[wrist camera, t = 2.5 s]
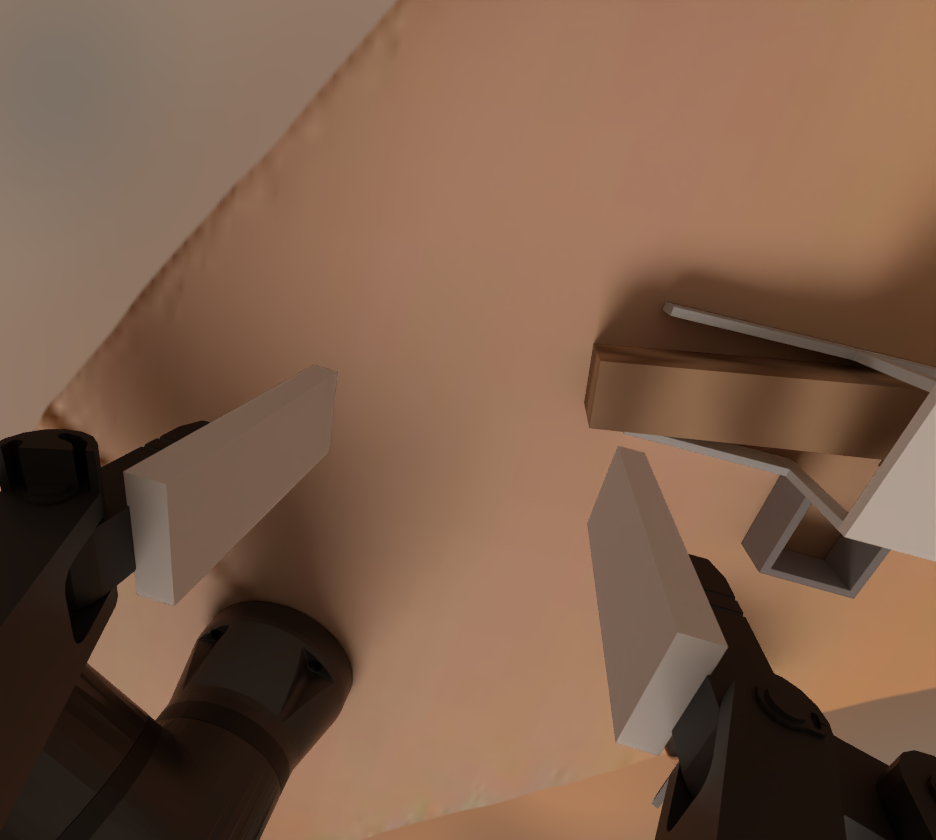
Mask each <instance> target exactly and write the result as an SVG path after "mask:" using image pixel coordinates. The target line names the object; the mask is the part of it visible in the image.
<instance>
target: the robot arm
mask: <svg viewBox="0 0 936 840" xmlns="http://www.w3.org/2000/svg"><path fill="white" fill-rule="evenodd" d="M337 372H338V371H334V370H331V369H327V368H323V367H319V366H315V365H312V366H310V367H309V368H307V369H305V370H303V371H301V372H300V373H298V374H296V375H294V376H293V377H291V378H289V379H287V380H285V381H284V382H282V383H280V384H278V385H277V386H275V387H273V388H271V389H269V390H268V391H266V392H264V393H262V394H261V395H259V396H257V397H255V398H253V399H252V400H250V401H248V402H246V403H244V404H243V405H241V406H239V407H237V408H236V409H234V410H232V411H230V412H228V413H227V414H225V415H223V416H221V417H220V418H218V419H216V420H214V421H212V422H207V421H199V422H195V423H191V424H187V425H184V426H180V427H178V428H176V429H174V430H172V431H170V432H168V433H166V434H164V435H162V436H161V437H160V439H158V438H157V439H155V440H153V441H151V442H149V443H147V444H145V446H144V447H139V448H138V449H136V450H134V451H132V452H130V453H128V454H126V455H124V456H122V457H120V458H119V459H117V460H115V461H113V462H111V463H109V464H107V465H105V466H103V467H101V465H100V458H99V450H98V443H97V442H96V440H95V439H94V437H93V436H91V435H88V434H86V433H84V432H81V431H74V430H67V429H45V430H38V431H32V432H25V433H21V434H18V435H15V436H11V437H8V438H5V439H3V440H1V441H0V487H1V492H0V840H260V838H261V836H262V833H263V831H264V829H265V827H266V825H267V823H268V821H269V819H270V816H271V814H272V812H273V810H274V808H275V806H276V804H277V802H278V799H279V797H280V795H281V793H282V791H283V789H284V786H285V784H286V782H287V780H288V778H289V776H290V774H291V772H292V771H293V769H294V768H295V767H296V766H297V765H298V763H299V762H300V761H301V760H302V759H303V758H304V756H305V755H306V754H307V753H308V752H309V751H310V749H311V748H312V747H313V746H314V745H315V744H316V742H317V741H318V740H319V739H320V738H321V736H322V735H323V734H324V733H325V732H326V731H327V729H328V728H329V727H330V726H331V725H332V724H333V722H334V721H335V720H336V719H337V717H338V715H339V714H340V712H341V710H342V708H343V706H344V703H345V701H346V699H347V696H348V694H349V692H350V689H351V685H352V671H351V667H350V663H349V661H348V658H347V656H346V654H345V653H344V651H343V649H342V648H341V646H340V645H339V644H338V642H337V641H336V640H335V639H334V638H333V637H332V635H331V634H330V633H328V632H327V631H326V630H325V629H324V628H323V627H322V626H320V625H319V624H318V623H316V622H315V621H313V620H312V619H310V618H309V617H307V616H305V615H303V614H301V613H299V612H297V611H295V610H292V609H290V608H287V607H284V606H281V605H277V604H273V603H267V602H243V603H238V604H235V605H232V606H229V607H227V608H226V609H224V610H222V611H221V612H220V613H219V614H218V615H217V616H216V617H215V618H214V619H213V620H212V621H211V623H210V624H209V625H208V626H207V627H206V628H205V630H204V631H203V632H202V633H201V635H200V636H199V638H198V639H197V641H196V643H195V645H194V648H193V650H192V652H191V655H190V657H189V659H188V661H187V664H186V666H185V668H184V671H183V673H182V675H181V677H180V680H179V682H178V684H177V687H176V689H175V691H174V693H173V696H172V698H171V700H170V702H169V704H168V705H167V707H166V708H165V709H164V710H163V712H162V713H161V714H160V715H159V717H158V718H157V719H156V720H154V719H152V718H151V717H150V716H149V715H148V714H147V713H146V712H145V711H144V710H142V709H141V708H140V707H139V706H138V705H136V704H135V703H134V702H133V701H132V700H131V699H129V698H128V697H127V696H126V695H125V694H123V693H122V692H121V691H120V690H119V689H117V688H116V687H115V686H114V685H113V684H111V683H110V682H109V681H108V680H107V679H106V678H104V677H103V676H102V675H101V674H100V673H98V672H97V671H96V670H95V669H94V668H92V667H91V666H90V665H89V664H88V663H87V661H88V659H89V657H90V655H91V653H92V651H93V649H94V647H95V646H96V644H97V642H98V640H99V638H100V636H101V634H102V632H103V630H104V628H105V626H106V624H107V622H108V620H109V618H110V616H111V614H112V612H113V610H114V608H115V606H116V602H117V598H118V593H117V585H118V584H119V583H120V582H122V581H123V580H124V579H125V578H127V577H128V576H129V575H130V574H131V573H133V572H134V573H135V582H136V591H137V595H140V596H143V597H146V598H149V599H153V600H156V601H159V602H162V603H166V604H169V605H172V606H175V605H176V604H177V603H178V602H179V601H180V600H181V599H182V598H183V597H184V596H185V595H186V594H187V593H188V592H189V591H190V590H191V589H192V588H193V587H194V586H195V585H196V584H197V583H198V582H199V581H200V580H201V579H202V578H203V577H204V576H205V575H206V574H207V573H208V572H209V571H210V570H211V569H212V568H213V567H214V566H215V565H216V564H217V563H218V562H219V561H220V560H221V559H222V558H223V557H224V556H225V555H226V554H227V553H228V552H229V551H230V550H231V549H232V548H233V547H234V546H235V545H236V544H237V543H238V542H239V541H240V540H241V539H242V538H243V537H244V536H245V535H246V534H247V533H248V532H249V531H250V530H251V529H252V528H253V527H254V526H255V525H256V524H257V523H258V522H259V521H260V520H261V519H262V518H263V517H264V516H265V515H266V514H267V513H268V512H269V511H270V510H271V509H272V508H273V507H274V506H275V505H276V504H277V503H278V502H279V501H280V500H281V499H282V498H283V497H284V496H285V495H286V494H287V493H288V492H289V491H290V490H291V489H292V488H293V487H294V486H295V485H296V484H297V483H298V482H299V481H300V480H301V479H302V478H303V477H304V476H305V475H306V474H307V473H308V472H309V471H310V470H311V469H312V468H313V467H314V466H315V465H316V464H317V463H318V462H319V461H320V460H321V459H322V458H323V457H324V456H325V455H326V454H327V453H328V452H329V450H330V440H331V431H332V421H333V411H334V401H335V392H336V382H337ZM587 525H588V533H589V541H590V549H591V556H592V564H593V572H594V579H595V587H596V595H597V603H598V610H599V618H600V626H601V633H602V641H603V649H604V657H605V664H606V672H607V680H608V687H609V695H610V703H611V711H612V718H613V726H614V734H615V741H616V743H619V744H622V745H625V746H628V747H632V748H635V749H638V750H641V751H644V752H648V753H651V754H654V755H657V756H659V755H660V753H661V752H662V750H663V749H664V747H665V745H666V744H667V742H668V741H669V739H670V738H671V736H672V735H673V739H674V743H675V747H676V751H677V755H678V759H679V762H678V763H677V765H676V767H675V768H674V769H673V771H672V772H671V774H670V776H669V777H668V778H667V780H666V781H665V783H664V784H663V786H662V787H661V789H660V790H659V792H658V793H657V795H656V797H655V798H654V800H653V802H652V804H653V805H654V806H655V807H657V808H659V807H660V805H661V804H662V802H663V801H664V802H663V806H662V811H661V815H660V819H659V823H658V828H657V832H656V837H655V840H936V757H935V756H932V755H929V754H925V753H922V752H919V751H915V750H914V751H908V752H903V753H902V754H901V755H900V756H899V757H898V758H897V759H896V760H895V761H894V762H893V763H892V764H891V765H890V766H888V765H886V764H885V763H883V762H881V761H879V760H877V759H876V758H874V757H872V756H870V755H868V754H867V753H865V752H863V751H861V750H859V749H857V748H855V747H854V746H852V745H850V744H848V743H846V742H844V741H843V740H841V739H839V738H837V737H836V736H834V735H833V733H832V730H831V727H830V724H829V722H828V721H827V719H826V718H825V717H824V715H823V714H822V712H821V711H820V709H819V708H818V707H817V705H816V704H815V703H813V702H812V701H811V700H810V699H809V698H808V697H807V696H806V695H805V694H804V693H803V692H802V691H801V690H800V689H798V688H797V687H796V686H794V685H793V684H791V683H790V682H788V681H787V680H786V679H784V678H783V677H780V676H778V675H776V674H774V673H773V671H772V669H771V667H770V665H769V663H768V661H767V659H766V657H765V655H764V653H763V651H762V649H761V647H760V645H759V643H758V641H757V639H756V637H755V635H754V633H753V631H752V629H751V627H750V625H749V623H748V621H747V619H746V617H743V612H742V610H741V608H740V606H739V604H738V602H737V601H735V596H734V594H733V592H732V590H731V588H730V586H729V584H728V582H727V580H726V578H725V577H724V576H723V575H722V574H721V573H720V572H719V571H718V570H717V569H716V568H715V566H714V565H713V564H712V563H711V562H710V561H709V560H708V559H705V558H701V557H697V556H694V555H690V554H688V553H687V550H686V548H685V546H684V543H683V541H682V539H681V536H680V534H679V532H678V529H677V527H676V525H675V522H674V520H673V518H672V515H671V513H670V511H669V508H668V506H667V504H666V501H665V499H664V497H663V495H662V492H661V490H660V488H659V485H658V483H657V481H656V478H655V476H654V474H653V471H652V469H651V467H650V464H649V462H648V460H647V457H646V455H645V453H643V452H639V451H636V450H632V449H628V448H624V447H621V446H618V447H617V449H616V452H615V454H614V457H613V459H612V462H611V464H610V467H609V470H608V472H607V475H606V477H605V480H604V482H603V485H602V487H601V490H600V492H599V495H598V497H597V500H596V502H595V505H594V507H593V510H592V513H591V515H590V518H589V520H588V523H587Z"/></svg>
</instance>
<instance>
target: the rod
mask: <svg viewBox="0 0 936 840" xmlns="http://www.w3.org/2000/svg"><path fill="white" fill-rule="evenodd" d="M929 393H930V392H927V391H925V390H923V389H920V388H918V387H916V386H913V385H911V384H908V383H906V382H904V381H901V380H899V379H897V378H894V377H892V376H889V375H887V374H885V373H882V372H880V371H878V370H875V369H873V368H870V367H866V366H854V365H842V364H830V363H818V362H806V361H794V360H782V359H770V358H758V357H747V356H735V355H723V354H711V353H699V352H687V351H675V350H663V349H651V348H639V347H627V346H616V345H604V344H593V351H592V357H591V363H590V370H589V376H588V382H587V389H586V395H585V401H584V404H585V409H586V414H587V419H588V424H589V428H593V429H603V430H612V431H621V432H631V433H640V434H649V435H658V436H668V437H677V438H686V439H696V440H705V441H714V442H723V443H733V444H742V445H751V446H761V447H770V448H779V449H788V450H798V451H807V452H816V453H825V454H835V455H844V456H853V457H863V458H872V459H881V460H885V458H886V457H887V455H888V454H889V452H890V451H891V449H892V448H893V447H894V445H895V444H896V442H897V441H898V439H899V438H900V436H901V435H902V433H903V432H904V430H905V429H906V427H907V426H908V424H909V423H910V421H911V420H912V418H913V417H914V415H915V414H916V412H917V411H918V409H919V408H920V407H921V405H922V404H923V402H924V401H925V399H926V398H927V396H928V395H929Z"/></svg>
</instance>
